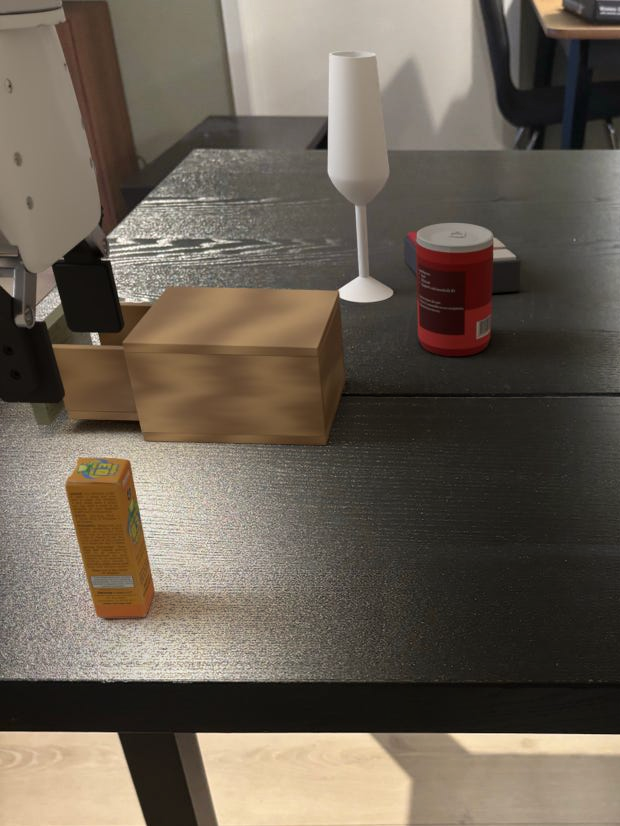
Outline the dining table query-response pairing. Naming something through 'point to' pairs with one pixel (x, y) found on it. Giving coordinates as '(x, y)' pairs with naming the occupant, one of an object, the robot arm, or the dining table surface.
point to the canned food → (454, 288)
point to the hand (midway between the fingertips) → (67, 363)
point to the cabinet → (238, 365)
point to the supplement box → (110, 537)
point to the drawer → (92, 370)
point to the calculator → (503, 264)
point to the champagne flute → (357, 153)
